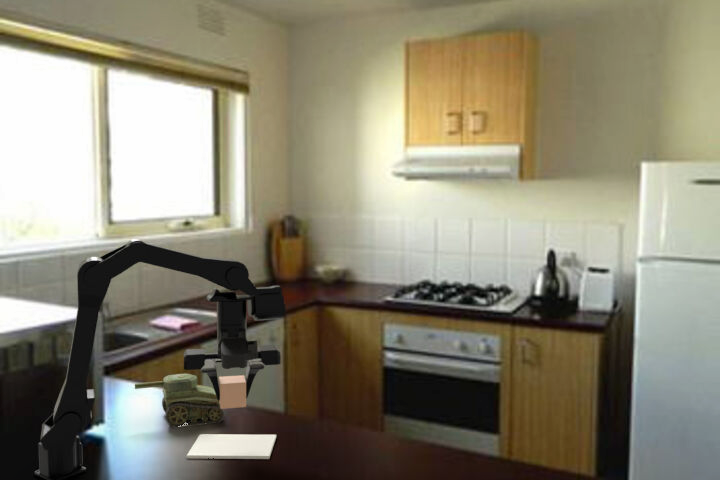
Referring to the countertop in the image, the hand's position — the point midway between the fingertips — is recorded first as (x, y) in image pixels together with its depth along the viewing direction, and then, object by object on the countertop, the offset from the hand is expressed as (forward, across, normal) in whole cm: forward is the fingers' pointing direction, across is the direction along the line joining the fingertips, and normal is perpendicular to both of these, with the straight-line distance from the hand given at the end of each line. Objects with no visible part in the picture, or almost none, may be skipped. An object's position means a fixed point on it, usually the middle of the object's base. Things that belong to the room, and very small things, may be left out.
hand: (232, 399), depth 135 cm
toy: (+10, -10, +20) cm, 24 cm away
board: (+10, 0, 0) cm, 10 cm away
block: (+1, 0, 0) cm, 1 cm away
